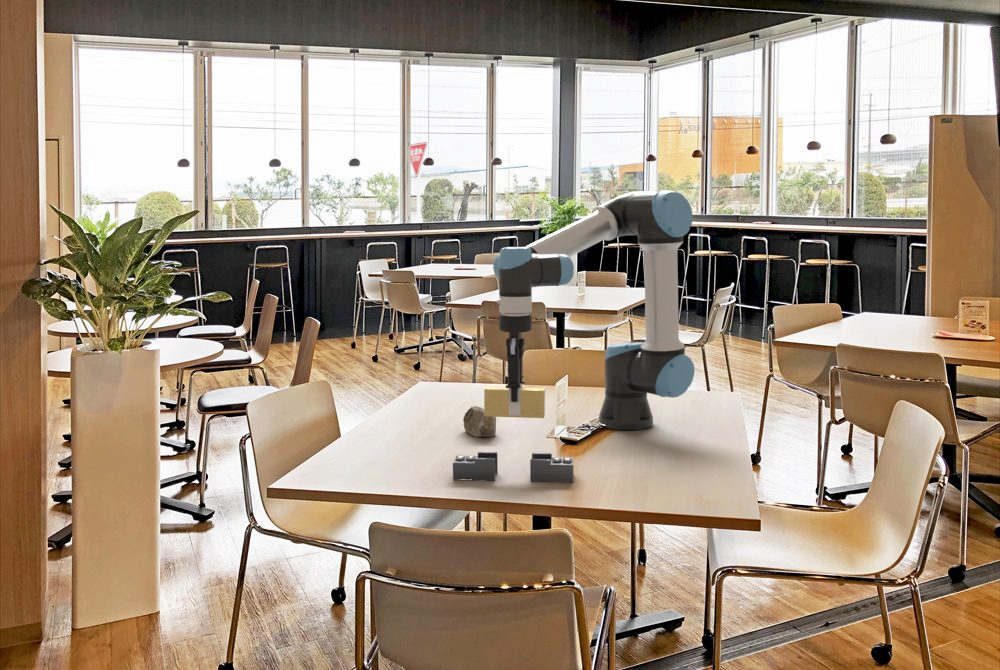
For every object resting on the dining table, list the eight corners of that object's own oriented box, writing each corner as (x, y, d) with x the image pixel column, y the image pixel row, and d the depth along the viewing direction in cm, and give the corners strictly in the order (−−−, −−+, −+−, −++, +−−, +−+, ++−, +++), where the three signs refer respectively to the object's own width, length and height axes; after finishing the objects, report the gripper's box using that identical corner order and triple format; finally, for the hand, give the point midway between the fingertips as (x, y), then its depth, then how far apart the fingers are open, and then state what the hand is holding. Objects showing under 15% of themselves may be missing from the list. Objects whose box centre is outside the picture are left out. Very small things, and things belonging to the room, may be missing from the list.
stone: (481, 439, 236) (481, 413, 235) (457, 430, 246) (458, 405, 245) (503, 437, 239) (504, 411, 239) (480, 428, 250) (480, 403, 249)
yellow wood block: (544, 415, 211) (545, 388, 210) (543, 418, 208) (544, 390, 207) (486, 413, 212) (486, 386, 212) (484, 416, 210) (484, 389, 209)
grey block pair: (573, 474, 205) (573, 453, 204) (572, 482, 199) (573, 460, 198) (457, 472, 207) (456, 451, 207) (453, 479, 202) (452, 458, 201)
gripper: (503, 310, 215) (503, 405, 218) (494, 317, 199) (495, 420, 203) (534, 310, 214) (534, 406, 218) (528, 318, 198) (528, 421, 202)
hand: (515, 412), depth 210 cm, fingers closed on yellow wood block, 3 cm apart
